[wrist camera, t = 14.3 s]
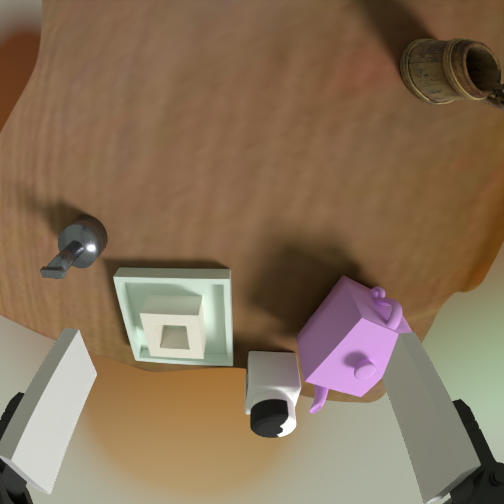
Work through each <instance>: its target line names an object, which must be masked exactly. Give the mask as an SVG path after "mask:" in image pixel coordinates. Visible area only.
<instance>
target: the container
mask: <svg viewBox="0 0 504 504" xmlns="http://www.w3.org/2000/svg"><path fill="white" fill-rule="evenodd" d="M245 379H246V380H245V413H246V414H250V416H251V417H250V425H251V430H252V431H253V432H254V433H256V434H257V435H259V436H262V437H268V438H275V437H281V436H284V435H287V434H289V433H290V432H292V431H293V429H294V428H295V427H296V417H295V409H294V408H295V405H296V402H297V399H298V396H299V393H300V390H301V383H300V376H299V369H298V363H297V356H296V353H286V352H264V351H249V354H248V362H247V370H246V378H245Z"/></svg>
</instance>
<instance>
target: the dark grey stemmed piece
mask: <svg viewBox="0 0 504 504" xmlns="http://www.w3.org/2000/svg"><path fill="white" fill-rule="evenodd" d="M106 245H107V233H106V230H105V228H104V226H103V225H102V223H101V222H100V221H99V220H97V219H96V218H94V217H92V216H87V215H85V216H80V217H78V218H77V219H76V220H74V221H73V222H72V223H71V224H70V225H68V226H67V227H66V228H65V229H64V230H63V231H62V232H61V233H60V235H59V238H58V247H59V251H60V253H59V254H58V255H57V256H56V257H55V258H54V259H53V260H52V261H51V262H50V263H49V264H48V265H47V267H42V268H41V269H40V271H41V275H42V277H43V278H55V279H59V278H62V279H63V278H64V277H65V276H66V273H65V272H66V271H67V270H68V269H69V268H70V266H71V265H72V266H74V267H77V268H86V267H89V266H90V265H91V264H92V263H93V262H94V261H95V260H96V258H97V257H98V256H99V255H100V254H101V252H102V251H103V250H104V249H105V247H106Z"/></svg>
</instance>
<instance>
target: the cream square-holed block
mask: <svg viewBox="0 0 504 504" xmlns="http://www.w3.org/2000/svg"><path fill="white" fill-rule="evenodd" d="M140 317H141V321H142V325H143V329H144V333H145V337H146V341H147V345H148V349H149V353H150V356H159V357H173V358H191V359H204V352H205V346H206V340H207V337H206V327H205V317H204V306H203V296H181V295H150V294H148V296H147V298H146V300H145V303H144V305H143V307H142V309H141V311H140ZM166 325H176V326H186V329H173V328H166Z"/></svg>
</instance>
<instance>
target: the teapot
mask: <svg viewBox="0 0 504 504" xmlns="http://www.w3.org/2000/svg"><path fill="white" fill-rule="evenodd" d="M409 332H412V331H411V329H410V327H409V326H408V324H407V322H406V321H405V319H404V317H403V315H402V307H401V305H400V304H399V302H397V301H396V300H394V299H391V298H387V297H385V291H384V289H383V288H381V287H379V286H376V287H374V288H373V289H369V288H367V287H365V286H363V285H361V284H360V283H358V282H356V281H354V280H352V279H350V278H348V277H346V276H344V275H342V277H341V278H340V279H339V281H338V282H337V283H336V284H335V285H334V286H333V287H332V289H331V291H330V293H329V294H328V295H327V297H326V298H325V299H324V301H323V302H322V303H321V305H320V306H319V307H318V309H317V310H316V311H315V312H314V314H313V315H312V316H310V317H309V319H308V321H307V323H306V324H305V325H304V327H303V328H302V329H301V330H300V332H299V333H298V334H297V335H296V338H297V344H298V350H299V356H300V362H301V368H302V374H303V380H304V381H305V382H309V383H312V384H314V386H315V399H314V403H313V405H312V407H311V409H310V413H311V414H313V413H316V412H317V411H318V410H320V409H321V407H322V406H323V404H324V402H325V400H326V397H327V393H328V390H329V389H333V390H336V391H340V392H344V393H347V394H351V395H355V396H359V397H361V396H363V395H364V394H365V393H366V392H367V391H368V390H369V389H370V388H371V387H373V386H374V385H375V384H376V383H377V382H378V381H379V380H380V379H381V378H382V377H383V374H384V372H385V369H386V367H387V364H388V362H389V359H390V357H391V354H392V351H393V349H394V346H395V343H396V340H397V338H398V335H399V333H409Z"/></svg>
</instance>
